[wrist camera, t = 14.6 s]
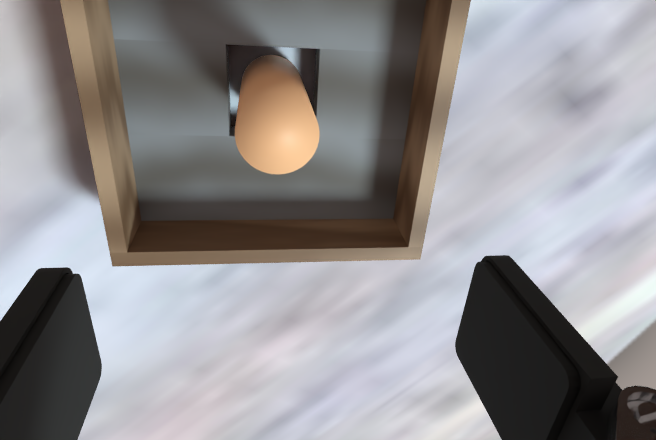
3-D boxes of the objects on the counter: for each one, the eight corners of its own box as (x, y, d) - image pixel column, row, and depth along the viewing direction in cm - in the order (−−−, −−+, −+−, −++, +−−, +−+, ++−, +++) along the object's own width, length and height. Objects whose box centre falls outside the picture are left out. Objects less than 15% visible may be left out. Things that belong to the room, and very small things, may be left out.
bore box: (397, 217, 37) (420, 259, 31) (134, 219, 34) (112, 266, 28) (443, -80, 27) (488, -90, 22) (81, -114, 24) (33, -135, 19)
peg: (300, 116, 32) (317, 174, 23) (242, 115, 31) (236, 174, 22) (303, 56, 30) (321, 94, 21) (240, 53, 29) (233, 91, 20)
